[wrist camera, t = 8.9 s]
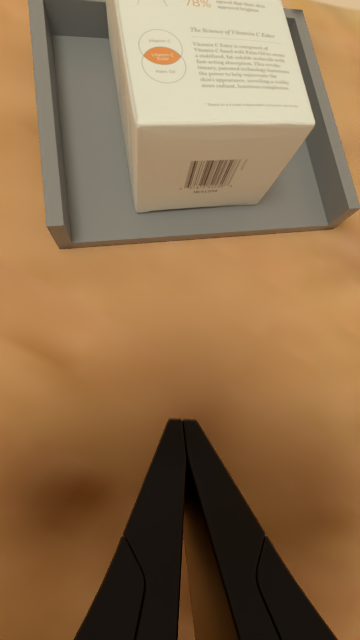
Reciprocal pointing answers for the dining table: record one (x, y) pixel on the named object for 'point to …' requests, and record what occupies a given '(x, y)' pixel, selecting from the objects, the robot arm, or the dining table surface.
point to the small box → (206, 99)
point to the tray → (110, 154)
